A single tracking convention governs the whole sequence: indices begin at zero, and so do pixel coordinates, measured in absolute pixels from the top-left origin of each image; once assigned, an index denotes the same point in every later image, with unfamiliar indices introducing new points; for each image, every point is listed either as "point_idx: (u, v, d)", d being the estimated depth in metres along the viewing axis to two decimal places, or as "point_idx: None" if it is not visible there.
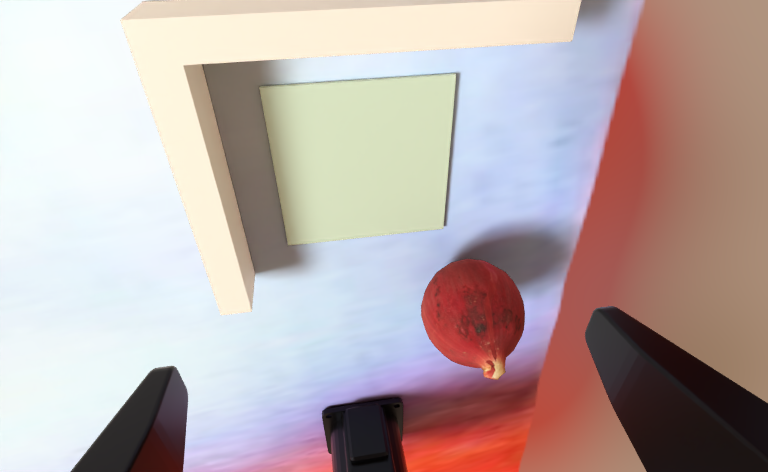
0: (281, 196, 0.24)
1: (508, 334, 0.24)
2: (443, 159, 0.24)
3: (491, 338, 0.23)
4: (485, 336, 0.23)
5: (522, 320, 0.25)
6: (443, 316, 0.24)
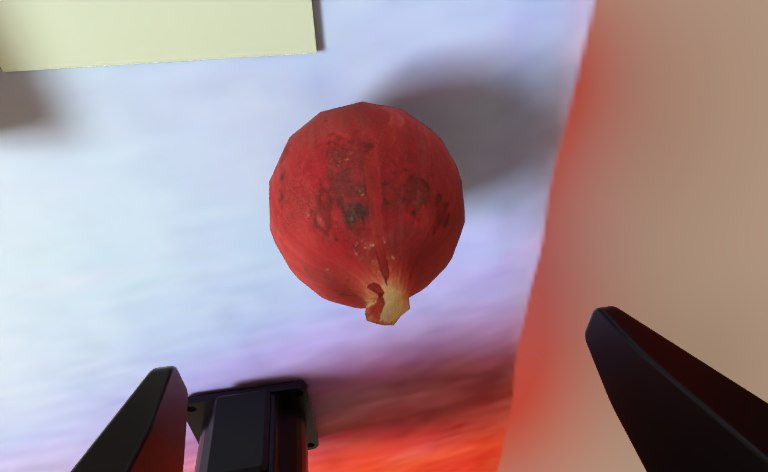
0: None
1: (419, 229, 0.11)
2: None
3: (378, 234, 0.11)
4: (366, 231, 0.11)
5: (454, 209, 0.12)
6: (287, 196, 0.12)
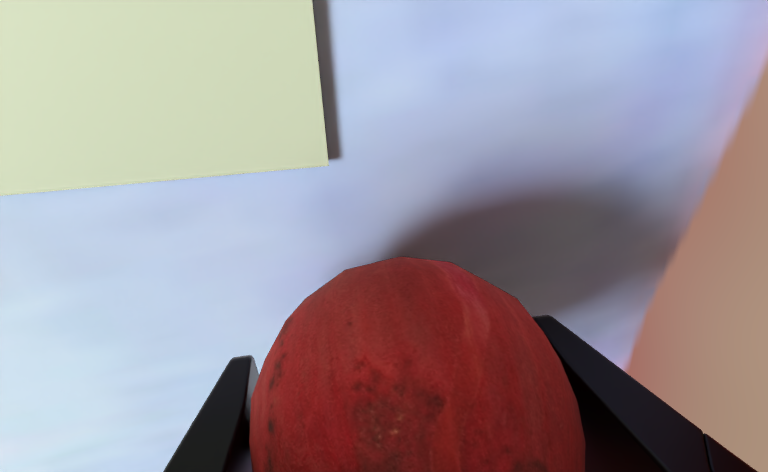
0: None
1: None
2: None
3: None
4: None
5: None
6: None
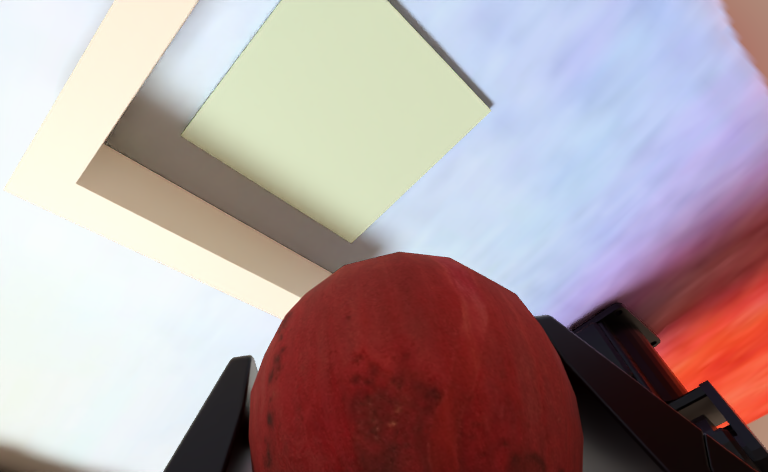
0: (299, 208, 0.21)
1: None
2: (413, 40, 0.17)
3: None
4: None
5: None
6: (279, 467, 0.06)
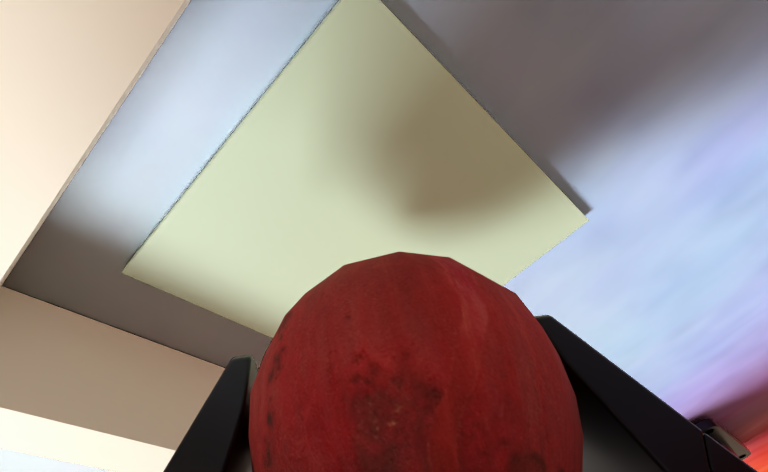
0: None
1: None
2: (486, 131, 0.11)
3: None
4: None
5: None
6: (279, 468, 0.06)
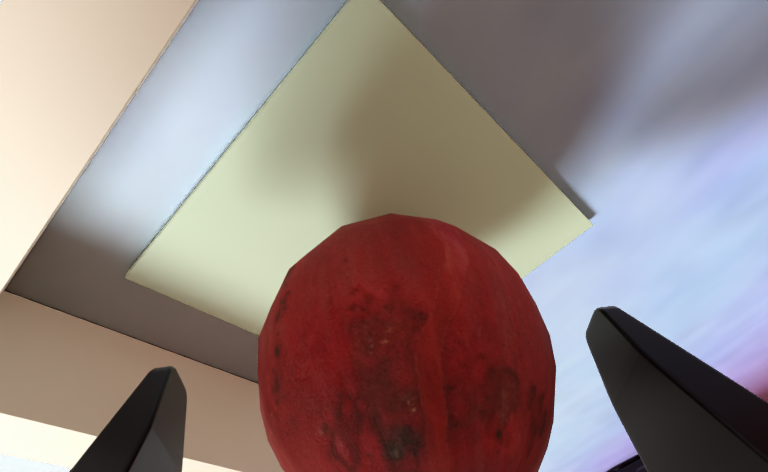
0: None
1: (507, 459, 0.07)
2: (491, 136, 0.11)
3: None
4: None
5: (551, 398, 0.08)
6: (286, 390, 0.07)
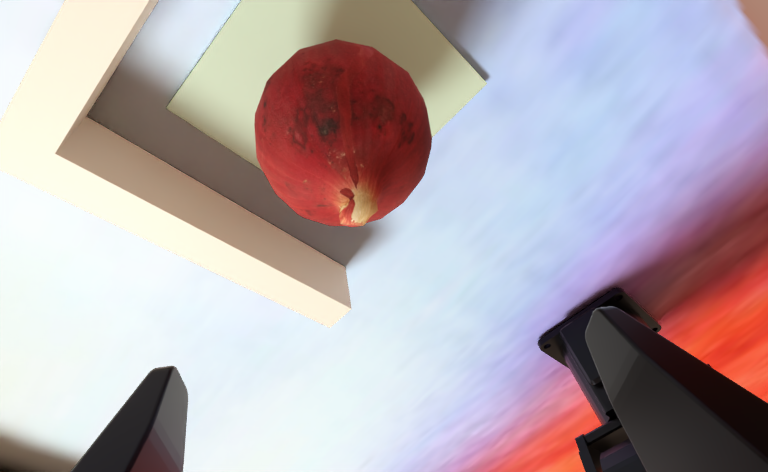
0: None
1: (385, 142, 0.12)
2: (405, 7, 0.17)
3: (348, 144, 0.12)
4: (337, 142, 0.12)
5: (419, 130, 0.13)
6: (269, 119, 0.13)
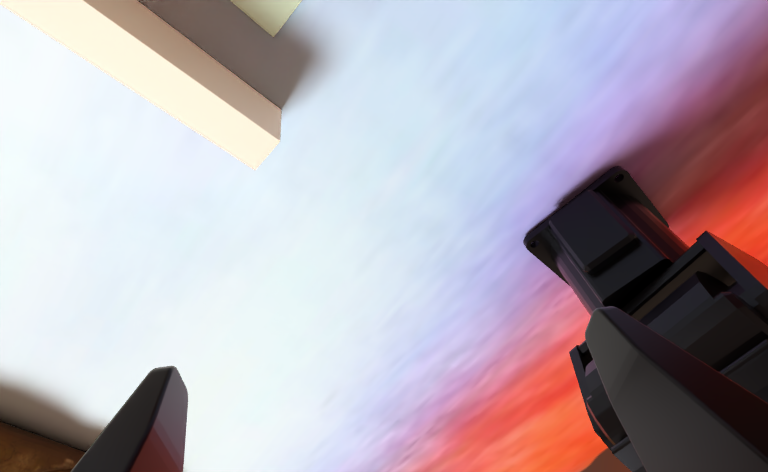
0: None
1: None
2: None
3: None
4: None
5: None
6: None
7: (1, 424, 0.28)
